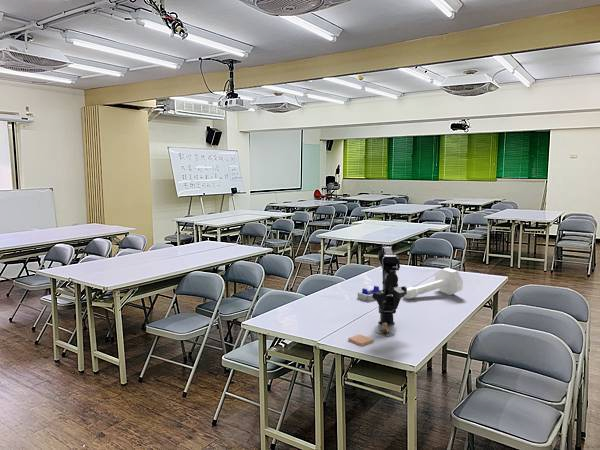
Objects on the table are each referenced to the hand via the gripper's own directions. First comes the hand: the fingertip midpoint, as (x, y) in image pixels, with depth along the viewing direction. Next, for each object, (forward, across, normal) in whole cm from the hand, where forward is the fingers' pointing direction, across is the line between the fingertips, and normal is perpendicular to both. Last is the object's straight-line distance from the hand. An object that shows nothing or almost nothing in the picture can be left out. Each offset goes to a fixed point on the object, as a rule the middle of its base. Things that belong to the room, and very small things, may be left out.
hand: (389, 310), depth 230 cm
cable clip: (+12, +39, +53) cm, 67 cm away
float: (+12, -2, +1) cm, 12 cm away
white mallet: (+12, +73, +30) cm, 80 cm away
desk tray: (+12, +39, +52) cm, 66 cm away
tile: (+11, -15, +1) cm, 18 cm away
